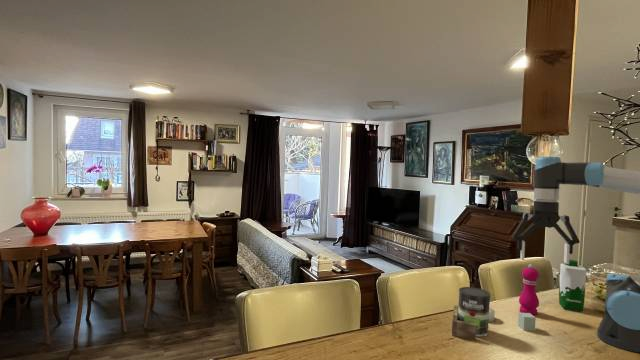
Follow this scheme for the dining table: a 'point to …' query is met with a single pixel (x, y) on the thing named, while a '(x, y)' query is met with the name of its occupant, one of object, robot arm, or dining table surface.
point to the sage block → (526, 321)
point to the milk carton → (572, 286)
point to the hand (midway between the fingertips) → (543, 261)
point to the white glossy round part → (491, 315)
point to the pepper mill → (529, 291)
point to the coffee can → (474, 308)
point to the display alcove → (462, 327)
